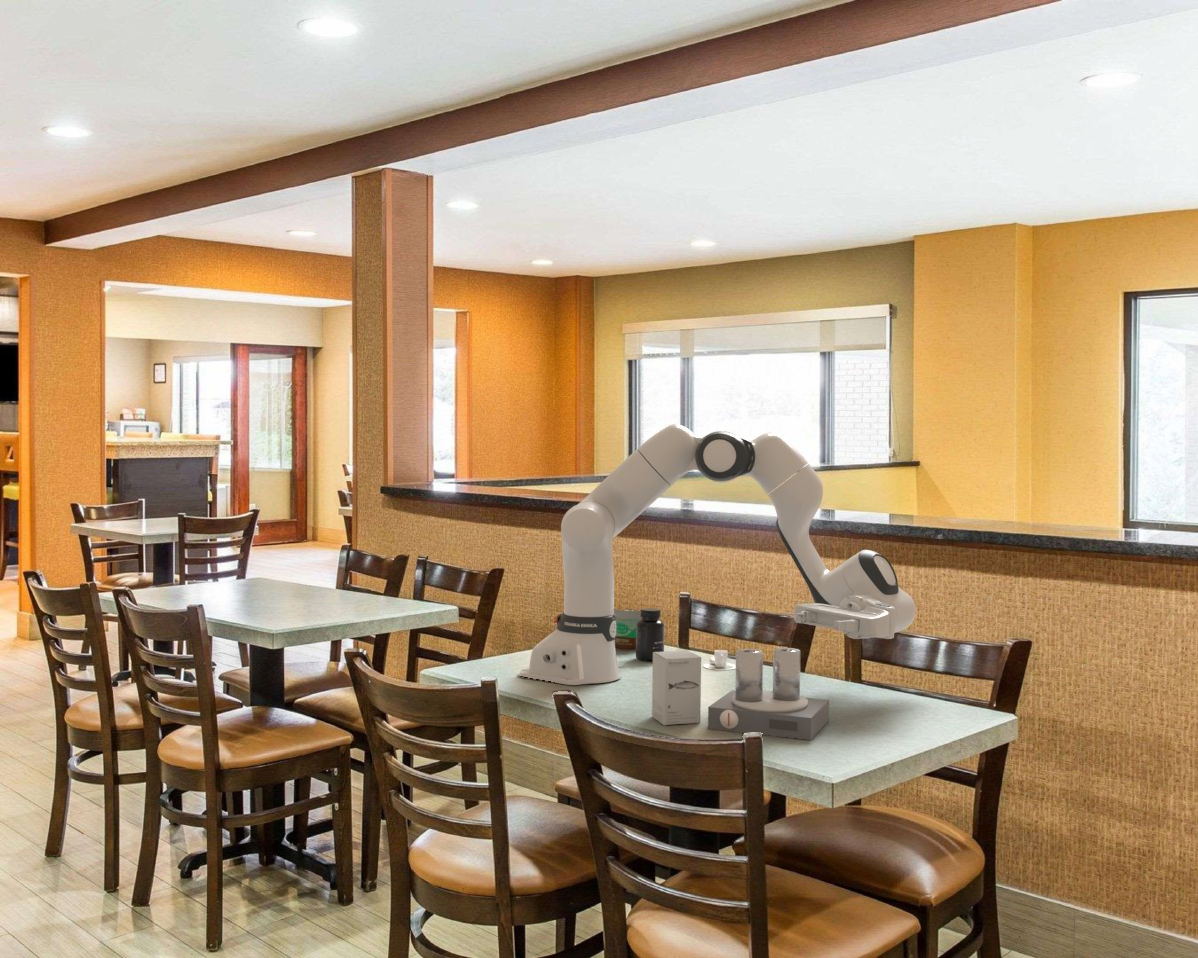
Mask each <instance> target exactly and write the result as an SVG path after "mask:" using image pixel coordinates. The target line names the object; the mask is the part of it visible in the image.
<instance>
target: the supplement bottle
mask: <svg viewBox="0 0 1198 958" xmlns="http://www.w3.org/2000/svg"><path fill="white" fill-rule="evenodd" d="M640 611H641V615H640V617H641V620H639V621H638V622H637V624H636V650H635V659H636V660H637V661H642V662H653V652H665V623H664V621H662V620H661V619H660V618H661V617H662V616H661V609H659V608H652V607H650V608H649V607H646V608H641V609H640Z"/></svg>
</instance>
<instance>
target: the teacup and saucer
mask: <svg viewBox="0 0 1198 958" xmlns="http://www.w3.org/2000/svg"><path fill="white" fill-rule="evenodd" d="M713 655H714V656H711V657H709V659H708V660H709V661H708V663H705V664H703V666H702V667H703V668H706V669H707V670H714V671H731V670H736V664H734V663H728V655H729V652H728V650H725V649H715V650H714V654H713ZM712 665H715V667H716V668H712V667H710V666H712ZM726 666H730V668H726ZM724 668H725V669H724Z"/></svg>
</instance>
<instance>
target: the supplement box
mask: <svg viewBox="0 0 1198 958" xmlns="http://www.w3.org/2000/svg"><path fill="white" fill-rule="evenodd" d="M651 682H652V684H651V685H652V688H651V690H652V691H651V700H652V701H651V703H652V704H651V716H652V718H653V719H655V720H656V721H658V722H659V723H660V724H661V725H663V726H664V727H665V726H668V725H686V724H700V723H701V707H702V706H701V698H702V697H701V694H702V691H701V690H702V685H701V684H702V657H701V656H700V655H698V654H696V653H694V652H691V651H690V650H674V651H672V650H671V651H664V652H653V661H652V681H651Z"/></svg>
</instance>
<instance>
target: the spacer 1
mask: <svg viewBox="0 0 1198 958" xmlns="http://www.w3.org/2000/svg"><path fill="white" fill-rule="evenodd" d="M735 665H736V669H735V689H734V691H735V699H736V700H737V701H741V702H760V701H762V697H763V691H764V690H763V689H764V688H763V687H764V686H763V683H764V682H763V681H764V678H763V676H764V651H763V650H761V649H756V648H740V649H739V648H738V649H736V650H735Z"/></svg>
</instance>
